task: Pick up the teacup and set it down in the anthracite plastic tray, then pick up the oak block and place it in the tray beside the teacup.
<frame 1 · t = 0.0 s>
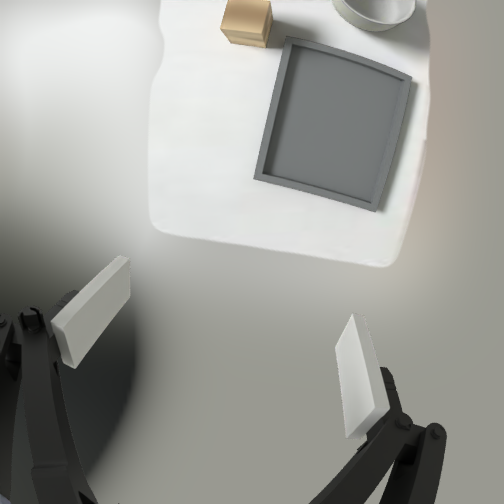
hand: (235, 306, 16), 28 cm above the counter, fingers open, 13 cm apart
teacup: (352, 3, 27), on the counter
tray: (334, 122, 36), on the counter
oak block: (251, 30, 31), on the counter
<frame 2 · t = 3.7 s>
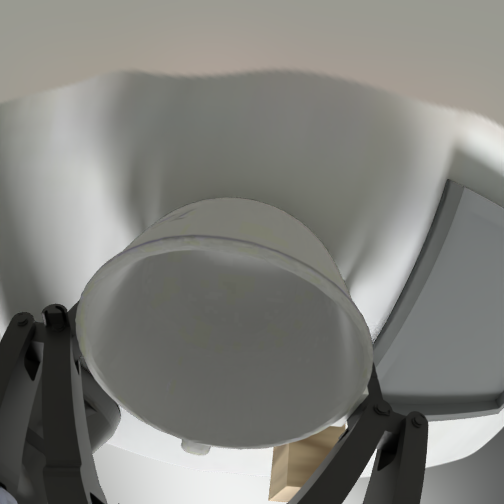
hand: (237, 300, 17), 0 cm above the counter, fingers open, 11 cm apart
teacup: (233, 295, 17), on the counter, touching gripper
tray: (489, 334, 16), on the counter
oak block: (308, 429, 22), on the counter
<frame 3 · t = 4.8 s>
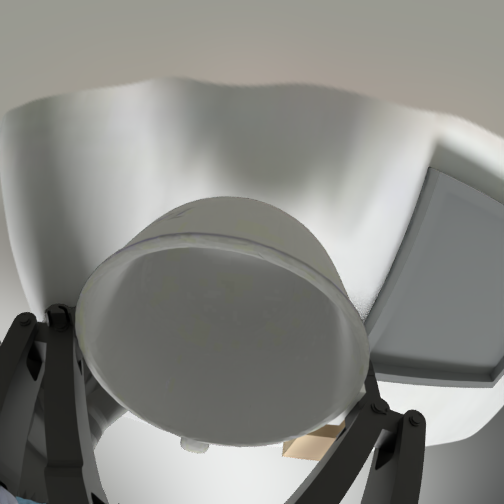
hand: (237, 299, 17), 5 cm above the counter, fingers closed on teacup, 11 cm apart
teacup: (232, 294, 17), point 5 cm above the counter, touching gripper
tray: (476, 304, 20), on the counter
oak block: (318, 391, 26), on the counter
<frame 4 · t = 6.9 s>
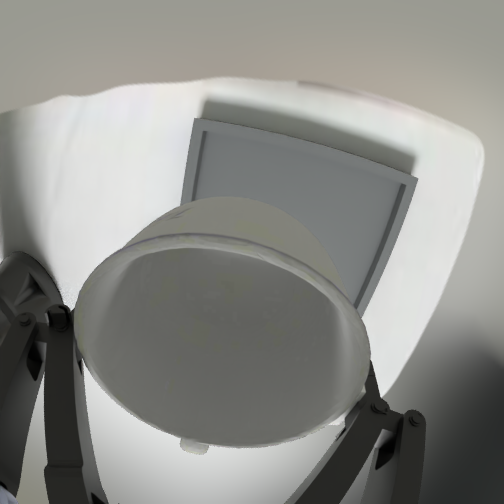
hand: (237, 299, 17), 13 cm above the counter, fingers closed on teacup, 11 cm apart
teacup: (232, 294, 17), point 13 cm above the counter, touching gripper
tray: (287, 230, 29), on the counter
when the fingers open (3 cm above the counter, at t = 9.2 s): teacup drops 2 cm, resting on tray.
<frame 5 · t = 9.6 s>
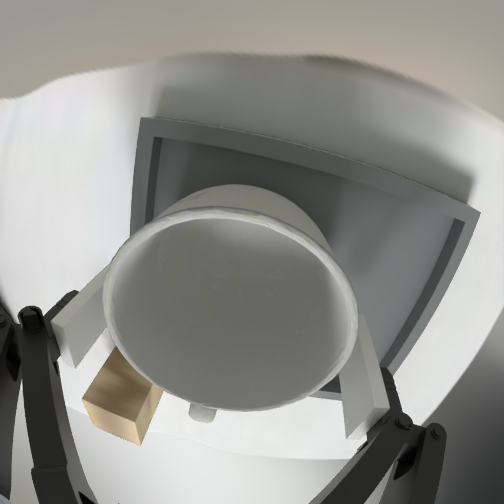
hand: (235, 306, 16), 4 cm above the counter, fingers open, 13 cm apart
teacup: (237, 274, 19), resting on tray
tray: (288, 285, 19), on the counter
oak block: (139, 371, 26), on the counter
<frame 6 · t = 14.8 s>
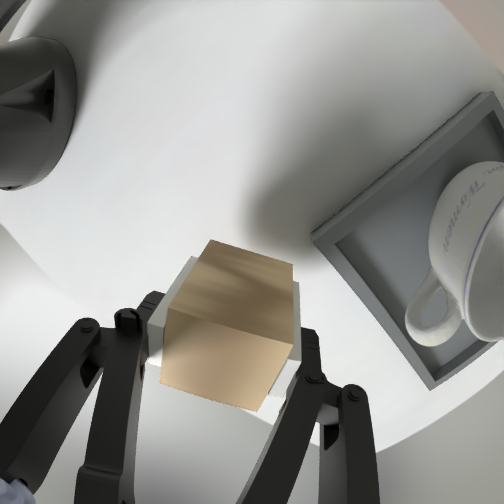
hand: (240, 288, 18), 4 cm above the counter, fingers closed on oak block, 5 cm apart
teacup: (454, 231, 18), resting on tray
tray: (466, 261, 19), on the counter
oak block: (240, 286, 18), point 4 cm above the counter, touching gripper
when the fingers open (2 cm above the counter, at t = 19.5 s): oak block stays where it is, resting on tray.
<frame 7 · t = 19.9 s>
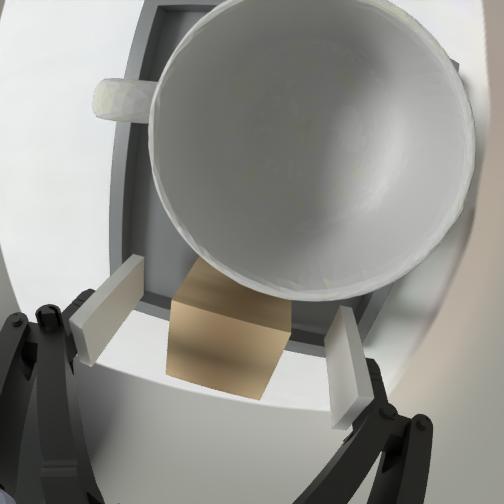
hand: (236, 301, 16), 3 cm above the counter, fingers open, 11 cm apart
teacup: (279, 123, 15), resting on tray
tray: (266, 179, 16), on the counter
oak block: (242, 280, 19), resting on tray
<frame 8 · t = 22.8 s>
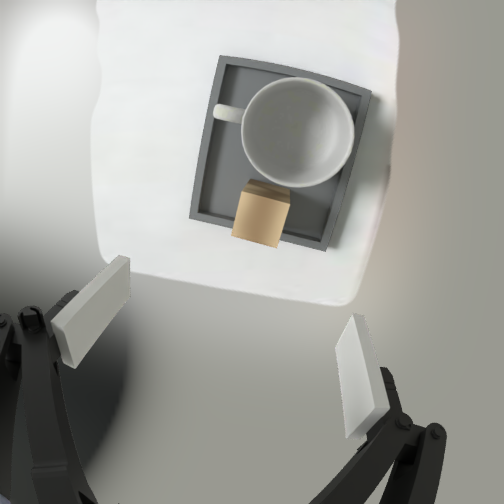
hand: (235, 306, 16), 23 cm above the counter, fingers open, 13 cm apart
teacup: (283, 125, 32), resting on tray
tray: (277, 151, 34), on the counter
oak block: (264, 202, 36), resting on tray
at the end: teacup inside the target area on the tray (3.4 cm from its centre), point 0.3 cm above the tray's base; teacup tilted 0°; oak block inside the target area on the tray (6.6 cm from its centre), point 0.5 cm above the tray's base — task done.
